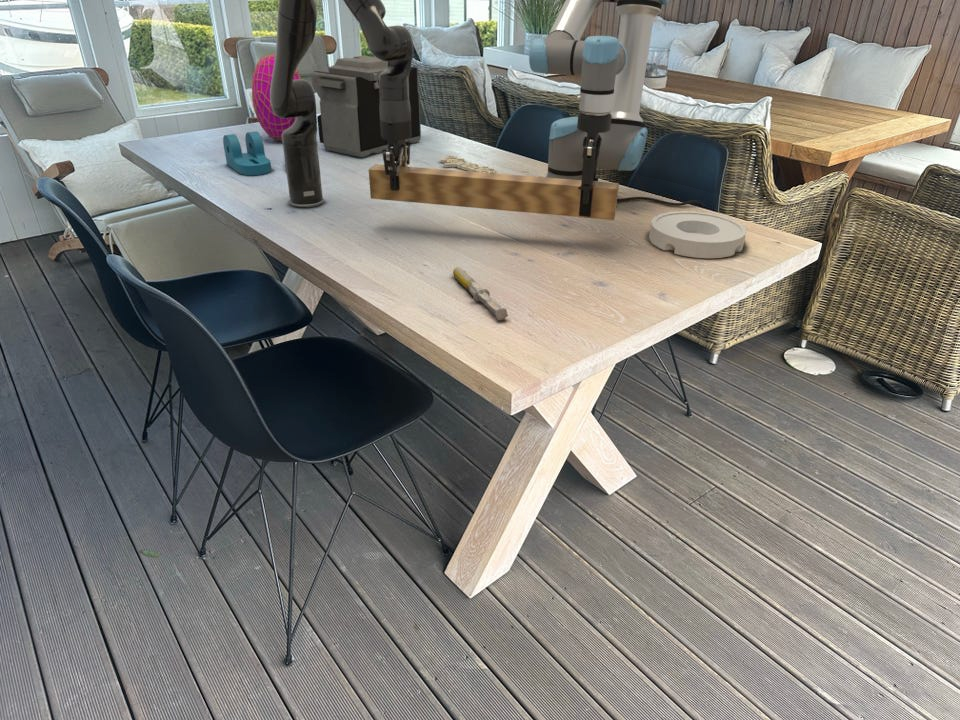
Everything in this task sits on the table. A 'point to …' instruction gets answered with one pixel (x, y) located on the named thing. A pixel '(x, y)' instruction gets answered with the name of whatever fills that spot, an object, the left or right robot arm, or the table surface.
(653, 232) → the ashtray
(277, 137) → the decorative egg
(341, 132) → the cooler box
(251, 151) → the camera mount
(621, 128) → the right robot arm
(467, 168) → the decorative sign
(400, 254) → the table surface
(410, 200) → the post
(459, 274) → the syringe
